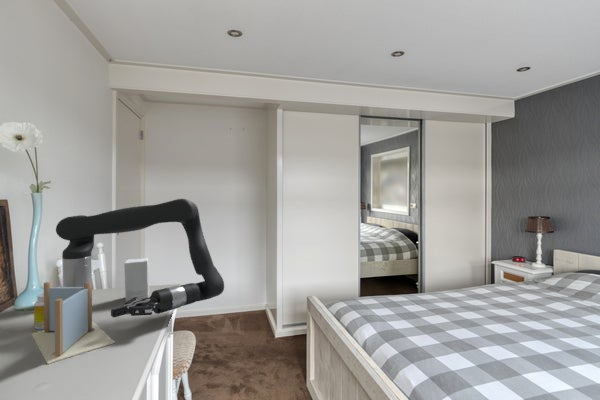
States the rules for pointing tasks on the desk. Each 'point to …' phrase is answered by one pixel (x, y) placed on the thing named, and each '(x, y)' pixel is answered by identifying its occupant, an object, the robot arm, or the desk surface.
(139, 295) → the skincare box
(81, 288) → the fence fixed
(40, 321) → the supplement bottle
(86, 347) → the card
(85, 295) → the fence panel
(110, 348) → the desk surface
